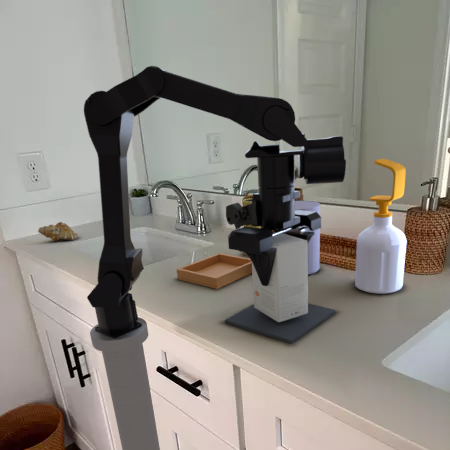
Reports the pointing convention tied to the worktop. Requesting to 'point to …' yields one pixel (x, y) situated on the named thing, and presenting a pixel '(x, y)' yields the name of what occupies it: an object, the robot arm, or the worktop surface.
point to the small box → (284, 281)
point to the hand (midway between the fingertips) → (278, 278)
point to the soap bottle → (382, 242)
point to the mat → (280, 330)
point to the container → (315, 239)
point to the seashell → (58, 232)
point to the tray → (216, 270)
